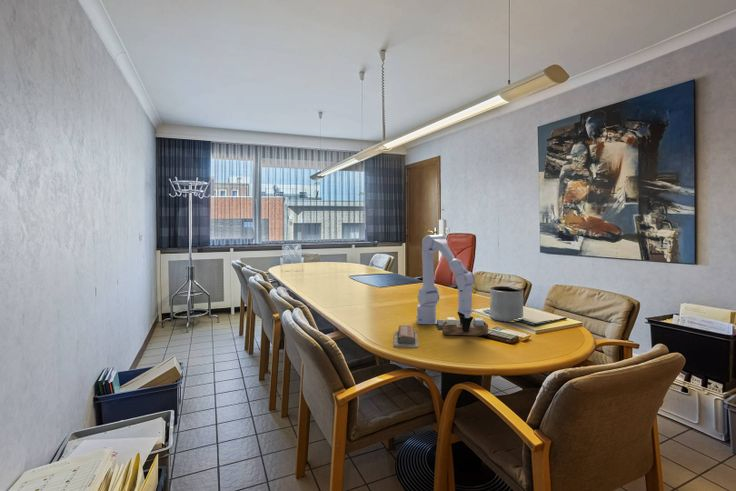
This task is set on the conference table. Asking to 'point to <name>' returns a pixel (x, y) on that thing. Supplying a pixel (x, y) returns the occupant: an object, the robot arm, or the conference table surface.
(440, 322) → the dock
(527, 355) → the conference table surface
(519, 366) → the conference table surface
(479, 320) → the crate greyblue
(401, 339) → the packaged product
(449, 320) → the crate cream
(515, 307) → the planter
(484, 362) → the conference table surface
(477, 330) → the brown grey lumpy bar
